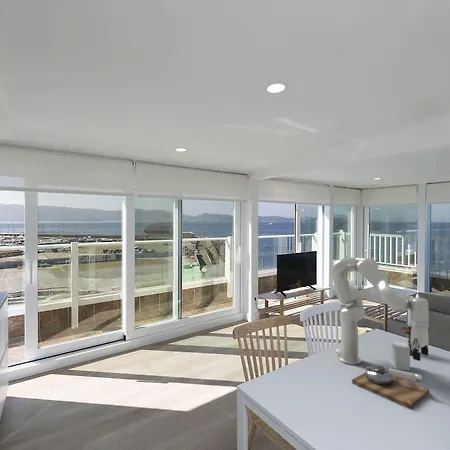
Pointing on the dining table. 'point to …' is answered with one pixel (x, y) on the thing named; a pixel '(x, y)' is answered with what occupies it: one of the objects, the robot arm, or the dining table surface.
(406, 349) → the supplement box
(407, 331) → the candlestick
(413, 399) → the wooden base
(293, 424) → the dining table surface
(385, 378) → the faucet lever handle
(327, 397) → the dining table surface
